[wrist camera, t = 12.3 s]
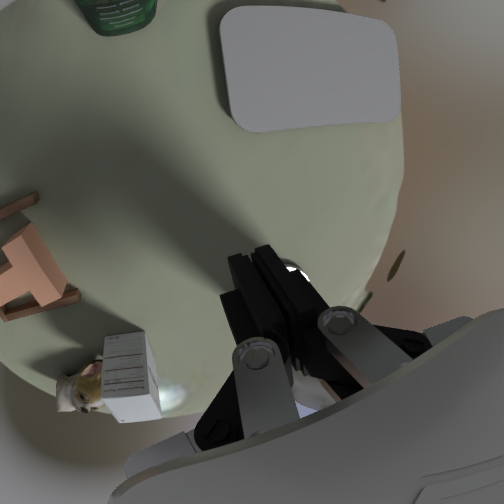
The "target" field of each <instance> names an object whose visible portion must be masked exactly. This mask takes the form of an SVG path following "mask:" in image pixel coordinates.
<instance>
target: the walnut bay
mask: <svg viewBox="0 0 504 504" xmlns="http://www.w3.org/2000/svg"><path fill="white" fill-rule="evenodd" d="M38 201H39V197H38V194H37V191H36V192H34V193H31V194H29V195H27V196H25V197H22V198H20V199H18V200H16V201H14V202H11V203H9V204H7V205H5V206H3V207H1V208H0V219H2V218H5V217H7V216H9V215H11V214H13V213H15V212H18V211H20V210H22V209H25V208H27V207H29V206H32V205H34V204H36V203H37V202H38ZM80 299H81V294H80V292H79V290H78V289H76V290H73V291H69V292H66V293H63V295H62V298H60V299H58V300H55V301H53V302H51V303H49V304H47V305H45V306H43V307H41V305H40V304H39V303H38V301H34V302H31V303H28V304H24V305H21V306H17V307H14V308H10V309H7V308H6V306H5V304H4V305H2V306H1V307H0V317H1V318H2V320H3V321H4V322H6V321H10V320H14V319H18V318H21V317H25V316H29V315H32V314H36V313H40V312H44V311H47V310H51V309H55V308H58V307H62V306H66V305H70V304H73V303H77V302H80Z"/></svg>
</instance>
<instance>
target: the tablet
mask: <svg viewBox="0 0 504 504" xmlns="http://www.w3.org/2000/svg"><path fill="white" fill-rule="evenodd" d="M219 36H220V43H221V51H222V58H223V65H224V73H225V80H226V87H227V94H228V102H229V109H230V114H231V116H232V118H233V120H234V122H235V123H236V124H237V125H238V126H239V127H240V128H242V129H244V130H246V131H249V132H253V133H262V132H269V131H277V130H285V129H293V128H302V127H312V126H323V125H335V124H351V123H375V122H390V121H392V120H394V119H395V118H396V117H397V115H398V113H399V111H400V107H401V93H400V74H399V62H398V51H397V42H396V38H395V35H394V33H393V31H392V29H391V28H390V27H389V26H388V25H387V24H386V23H385V22H383V21H381V20H378V19H374V18H369V17H365V16H360V15H355V14H349V13H343V12H337V11H330V10H322V9H313V8H303V7H288V6H240V7H236V8H234V9H232V10H230V11H229V12H227V13H226V14H225V16H224V17H223V18H222V20H221V22H220V24H219Z"/></svg>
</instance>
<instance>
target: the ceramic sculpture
mask: <svg viewBox="0 0 504 504" xmlns="http://www.w3.org/2000/svg"><path fill="white" fill-rule="evenodd" d="M102 363H103V360H101V359H97V360H91V361H89V362H87V363H86V364H85V365H84V366H83V367H82V368H81V369H80V370H79V372H78V373H77V374H75V375H72V376H70V377H67V376H66V375H61V376H60V377H58V379H57V383H56V408H57V411H58V412H61V411H72V410H78V411H79V412H82V413H88V412H89V411H90V410H95V409H98V408H99V407H104V406H105V404H104V402H103V401H102V400H101V380H102Z"/></svg>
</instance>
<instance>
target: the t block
mask: <svg viewBox="0 0 504 504" xmlns="http://www.w3.org/2000/svg"><path fill="white" fill-rule="evenodd" d="M2 250H3V251H4V253H5V255H6V256H7V258H8V260H9V261H8V262H6V263H5V264H3V265H2V266H0V307H1V306H2V305H4V304H6V303H8V302H9V301H11V300H13V299H15V298H17V297H19V296H20V295H22V294H24V293H26V292H28V291H30V292H31V293H32V295H33V296H34V297H35V299H36V300H37V301H38V303H39V304H40V305H41V307H43V306H45V305H47V304H49V303H51V302H53V301H55V300H58V299H60V298H62V295H63V292H64V289H65V287H66V284H67V279H66V278H65V276H64V275H63V273H62V272H61V270H60V269H59V267H58V265H57V264H56V262H55V261H54V259H53V258H52V256H51V254H50V253H49V251H48V250H47V248H46V246H45V245H44V243H43V241H42V239H41V238H40V236H39V234H38V233H37V231H36V229H35V227H34V225H33V224H32V222H31V223H29V224H28V225H26V226H24V227H23V228H21V229H20V230H18V231H17V232H15V233H14V234H12V236H11V237H10V238H9V239H8V240H7V242H6V243H5V244H4V245H3V247H2Z"/></svg>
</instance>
